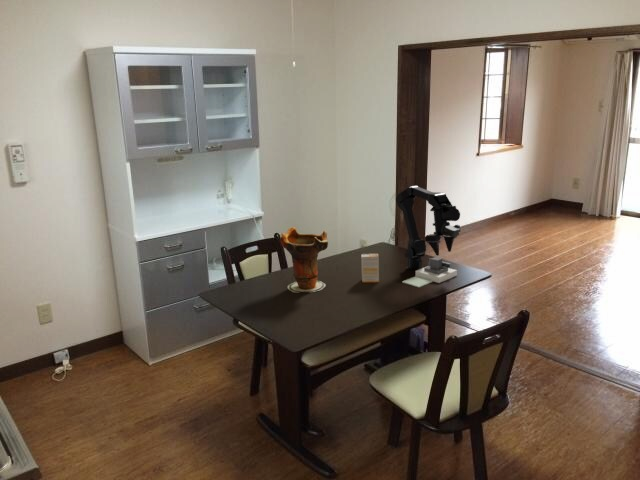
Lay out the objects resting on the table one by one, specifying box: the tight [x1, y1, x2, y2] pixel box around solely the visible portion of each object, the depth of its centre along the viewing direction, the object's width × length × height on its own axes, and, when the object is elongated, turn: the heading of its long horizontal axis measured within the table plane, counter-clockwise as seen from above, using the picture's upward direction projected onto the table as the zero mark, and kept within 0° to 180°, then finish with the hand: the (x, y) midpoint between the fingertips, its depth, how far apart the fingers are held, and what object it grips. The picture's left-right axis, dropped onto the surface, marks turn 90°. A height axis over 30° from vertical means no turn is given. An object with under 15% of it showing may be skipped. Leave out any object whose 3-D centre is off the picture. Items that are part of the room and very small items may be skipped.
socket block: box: [414, 265, 458, 284], centre depth 262 cm, size 14×14×3 cm
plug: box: [423, 256, 448, 274], centre depth 261 cm, size 8×8×9 cm
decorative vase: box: [279, 226, 329, 294], centre depth 253 cm, size 21×23×28 cm
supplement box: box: [360, 253, 380, 283], centre depth 258 cm, size 8×5×13 cm, turn 84°
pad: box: [401, 276, 434, 289], centre depth 255 cm, size 10×10×1 cm
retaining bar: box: [427, 257, 452, 269], centre depth 263 cm, size 13×2×4 cm, turn 41°
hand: (443, 253), depth 253 cm, fingers open, 9 cm apart
